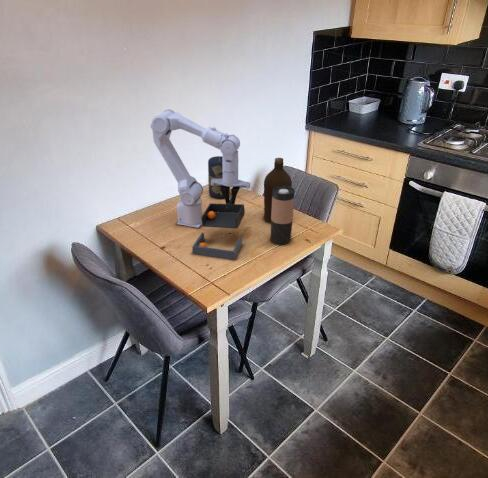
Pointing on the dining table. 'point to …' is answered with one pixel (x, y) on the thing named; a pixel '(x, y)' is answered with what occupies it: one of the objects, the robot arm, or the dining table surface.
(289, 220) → the travel mug
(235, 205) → the scoop pan
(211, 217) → the ball
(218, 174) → the canister
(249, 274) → the dining table surface
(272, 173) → the olive oil
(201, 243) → the ball
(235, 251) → the frame
